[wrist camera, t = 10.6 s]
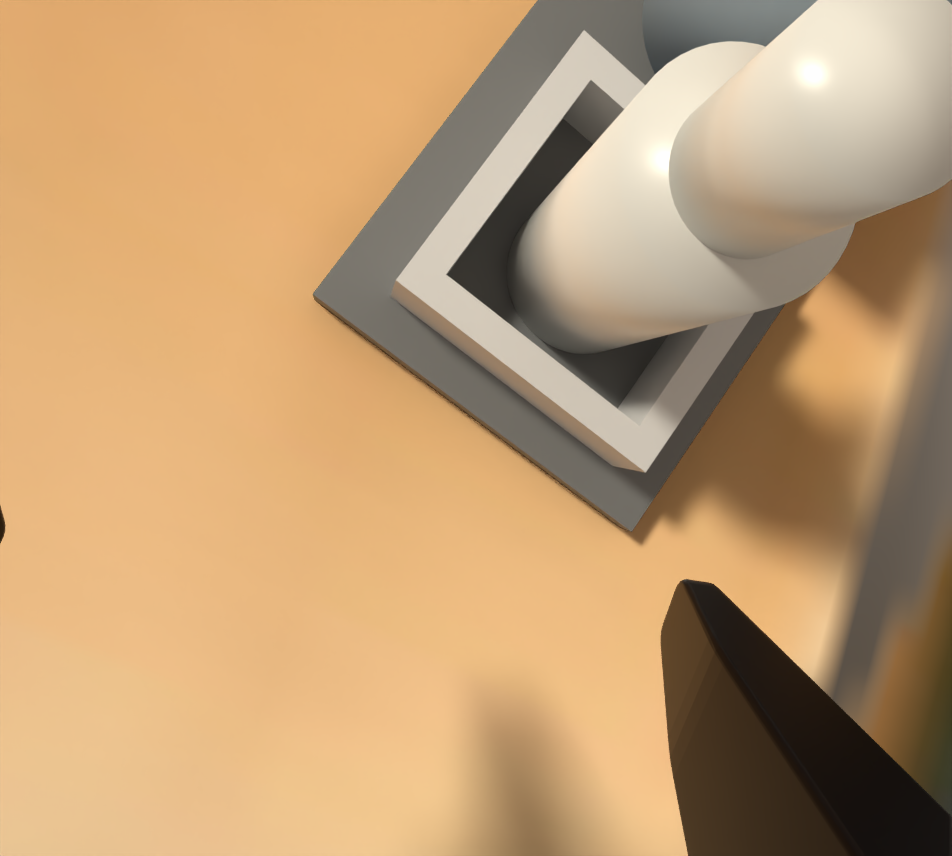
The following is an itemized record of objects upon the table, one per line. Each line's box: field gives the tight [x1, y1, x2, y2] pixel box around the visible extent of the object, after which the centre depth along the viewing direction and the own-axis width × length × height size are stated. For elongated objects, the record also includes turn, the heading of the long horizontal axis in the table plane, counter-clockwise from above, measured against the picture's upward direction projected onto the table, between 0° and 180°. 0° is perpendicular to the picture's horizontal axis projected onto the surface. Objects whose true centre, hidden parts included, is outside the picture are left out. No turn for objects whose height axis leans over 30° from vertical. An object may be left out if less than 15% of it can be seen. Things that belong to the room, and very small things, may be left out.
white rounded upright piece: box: [507, 0, 952, 354], centre depth 15 cm, size 7×5×12 cm
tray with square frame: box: [313, 0, 952, 532], centre depth 18 cm, size 24×13×10 cm, turn 144°
